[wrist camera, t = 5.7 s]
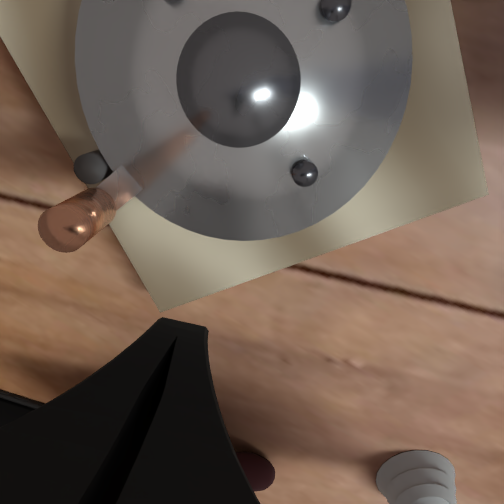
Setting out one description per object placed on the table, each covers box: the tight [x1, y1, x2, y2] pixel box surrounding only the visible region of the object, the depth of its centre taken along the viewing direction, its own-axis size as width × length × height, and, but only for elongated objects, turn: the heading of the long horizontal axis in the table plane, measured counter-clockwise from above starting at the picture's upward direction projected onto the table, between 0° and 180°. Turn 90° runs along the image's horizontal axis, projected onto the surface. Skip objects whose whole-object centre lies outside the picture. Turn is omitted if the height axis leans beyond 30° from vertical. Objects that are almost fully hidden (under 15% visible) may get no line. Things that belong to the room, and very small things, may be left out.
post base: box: [0, 0, 489, 312], centre depth 15 cm, size 16×16×3 cm
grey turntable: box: [38, 0, 413, 253], centre depth 13 cm, size 14×12×4 cm
